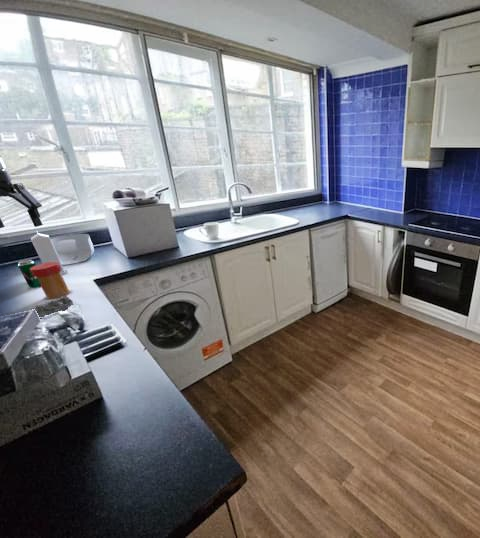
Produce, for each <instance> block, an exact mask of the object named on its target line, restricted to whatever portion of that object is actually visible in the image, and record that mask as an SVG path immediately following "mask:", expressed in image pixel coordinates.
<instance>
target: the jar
mask: <svg viewBox="0 0 480 538" xmlns="http://www.w3.org/2000/svg"><path fill="white" fill-rule="evenodd" d="M37 279H38V281H39V283H40V285H41V286H40V287H41V289H42V291H43V293H44V295H45V297H46V299H48V300H54V299H55V300H56V299H60V298H62V297H64V296H68V295H69V294H70V293H71V292H70V290H69V288H68V286H67V283H66V281H65V279H64V277H63V274H62V275H61V272H60V271H59V272H57V273H55V274H51V275H47V276H41V277H37Z"/></svg>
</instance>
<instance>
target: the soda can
mask: <svg viewBox="0 0 480 538" xmlns="http://www.w3.org/2000/svg"><path fill="white" fill-rule="evenodd" d="M36 265H37V264H36V262H35V261H33V259H25V260H21V261H18V262H17V267H18V268H19V271H20V272H21V275H22V277H23V278H24V280H25V282H26V284H27V286H28V287H29V288H31V289H37V288H40V287H41V285H40V283H39V281H38V279H37V277H34V276H33V275H32V273H31V271H30V268H31V267H33V266H36Z"/></svg>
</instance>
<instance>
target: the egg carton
mask: <svg viewBox="0 0 480 538" xmlns="http://www.w3.org/2000/svg"><path fill="white" fill-rule="evenodd" d="M71 305H74V301H73V300H72V299H71V298H70V297H68V295H65V296H63V297H60V298H55V300H54V299H51V300H50V301H47V302H45V303H41V304H36V305H34V306H33V307H32V308H31V309H30V311H32V309H35V310H36V311H37V313H38V315H39V317H44V316H45V315H49V314H51V313H54V312H58V311H61V310H65V311H67V310H66V309H68V307H70V306H71Z"/></svg>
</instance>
